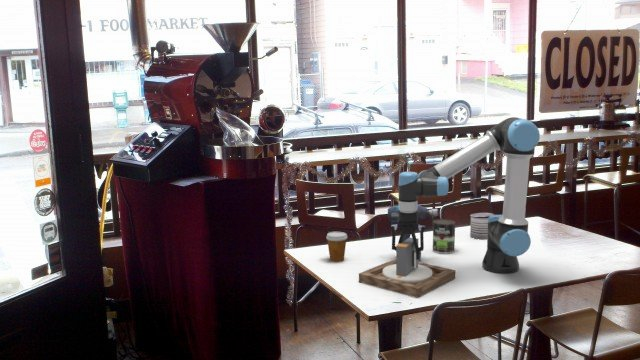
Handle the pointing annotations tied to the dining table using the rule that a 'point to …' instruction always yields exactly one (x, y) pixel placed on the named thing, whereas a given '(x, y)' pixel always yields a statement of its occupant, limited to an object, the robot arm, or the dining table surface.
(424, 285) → the dial base
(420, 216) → the impact wrench
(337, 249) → the disposable coffee cup
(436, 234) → the coffee can
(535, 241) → the dining table surface
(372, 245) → the dining table surface
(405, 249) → the dial
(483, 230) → the can
